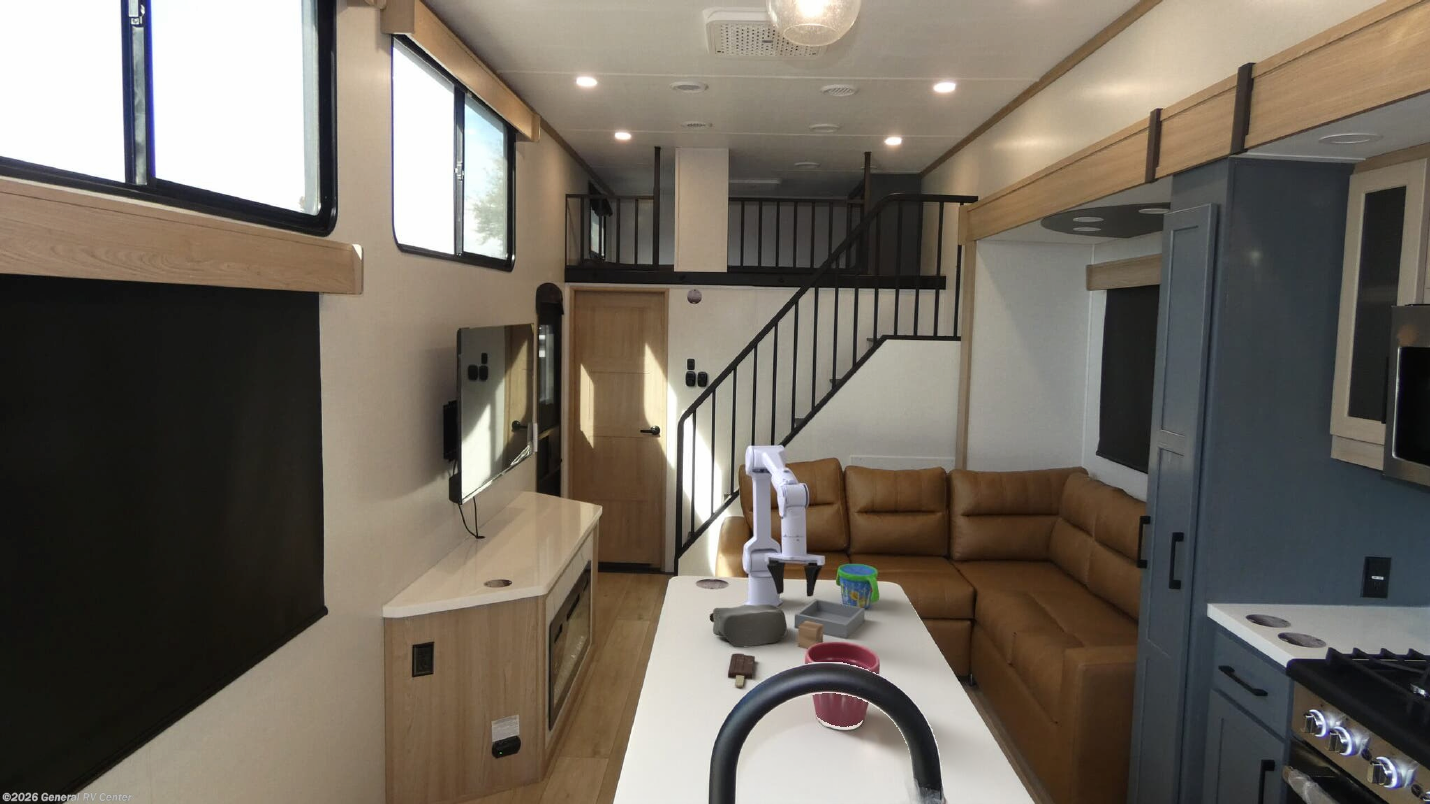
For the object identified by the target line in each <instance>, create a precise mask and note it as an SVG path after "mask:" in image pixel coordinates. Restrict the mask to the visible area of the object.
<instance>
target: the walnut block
mask: <svg viewBox="0 0 1430 804" xmlns="http://www.w3.org/2000/svg"><path fill="white" fill-rule="evenodd" d="M823 642H824V634H823V624H819V623H814V622H810V621H805V622H804V623H802V624H801V625H800V626H798V629H797V648H799V649H805V648H809V647H811V646H813V645H815V644H818V643H823Z"/></svg>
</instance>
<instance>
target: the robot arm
mask: <svg viewBox="0 0 1430 804" xmlns="http://www.w3.org/2000/svg"><path fill="white" fill-rule="evenodd" d="M744 461H745V472H746V473H745V474H746V475H747V476H749V477H751V479H752V501H753V502H752V503H753V505H752V507H753V509H752V510H753V513H752V515H753V536H752V537H751V538H750V539H749V540H748V541H746V542H745V543H744V544H743V552H742V553H743V554H742V560H741V561H742V567H743V571H744V572H745V573H746V574H748V584H747V585H748V587H747V591H748V593H747V601H746V602H744V603H743V604H742V605H761V604H768V605H773V606H776V607H778V606H779V605H780V604H782V603H783V602H784V601H783V600H782V599H780V597H781V596H780V594H783V593H784V591H785V590H784V586H785V583H784V576H785V574H784V573H785V565H786V563H787V564H803V565H804V566H803V570H804V572H805V573H804V574H805V579H806V597H809V598H811V597H813V596H814V592H815V587H816V584H817V581H818V578H819V575H820V573H821V571H822V569H823V566H824V565H825V564H826V562H825V561H826V559H825V558H826V556H825V555H817V554H810V553H807V522H806V521H807V520H806V519H807V517H806V516H807V515H806V509H807V508H808V507H809V503H810V493H809V489H808V486H807V484H806V483H803V482H799V481H798V478H797V477H796V476H795V474H794V472H793V470H791V469H790V468H789V467H786V463H787V452H786V448H785V447H784V446H783V444H779V445H749V446H747V448H746V450H745V460H744ZM771 484H772V486H773V489H775V492H776V493H777V494H776V495H777V496H776V497H777V504H778V513H779V516H780V517H781V518H780V520H781V524H780V525H781V545H780V543H779V542H778V541H777V540H776V539H774V538H772V514H771V513H772V508H771V503H772V502H771Z"/></svg>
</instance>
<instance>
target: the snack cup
mask: <svg viewBox="0 0 1430 804" xmlns="http://www.w3.org/2000/svg"><path fill="white" fill-rule="evenodd" d="M878 574H879V572H878V569H877V568H875V567H873V566H870V565H866V564H861V563H847V564H841V565H840V566H838V568H837V574H836V578H835V584H836V586H839V587H840V594H841V601H842V603H841V604H845V605H850V606H856V607H861V608H865V610H866V609H868V608H869V607H871V604H872V603H876V602H878V601H879V599H880V592H879V591H880V590H879V584H878V582H877V581H878V580H877V578H878Z"/></svg>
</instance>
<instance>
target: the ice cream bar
mask: <svg viewBox="0 0 1430 804" xmlns="http://www.w3.org/2000/svg"><path fill="white" fill-rule="evenodd" d="M755 659H756V657H755V656H754V655H748V654H744V653H737V652H736V653H733V654H731V657H730V660H729V661H730V663H729V667H728V673H727V678H728V679H735V681H734V687H735V688H743V687H744V682H745V681H744V680H753V678H754V671H755V670H754V669H755V662H756V661H755Z"/></svg>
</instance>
